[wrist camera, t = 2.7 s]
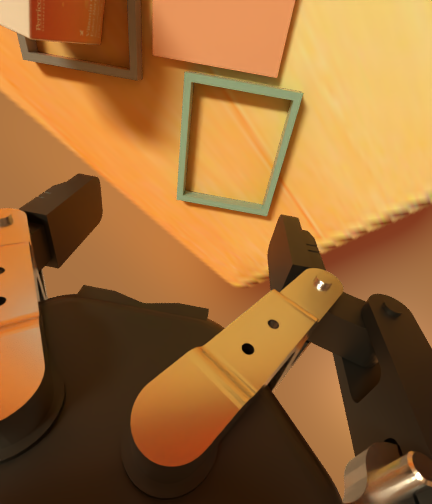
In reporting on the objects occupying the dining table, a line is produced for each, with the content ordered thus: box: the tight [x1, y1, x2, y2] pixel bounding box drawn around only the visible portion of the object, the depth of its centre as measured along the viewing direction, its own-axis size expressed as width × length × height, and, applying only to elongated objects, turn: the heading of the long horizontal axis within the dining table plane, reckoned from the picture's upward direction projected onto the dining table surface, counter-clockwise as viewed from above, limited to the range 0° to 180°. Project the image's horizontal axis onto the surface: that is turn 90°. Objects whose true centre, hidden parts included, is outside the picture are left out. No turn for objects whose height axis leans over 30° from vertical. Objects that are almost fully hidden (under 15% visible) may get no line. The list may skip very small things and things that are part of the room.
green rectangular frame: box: [177, 71, 303, 216], centre depth 30 cm, size 11×13×2 cm
